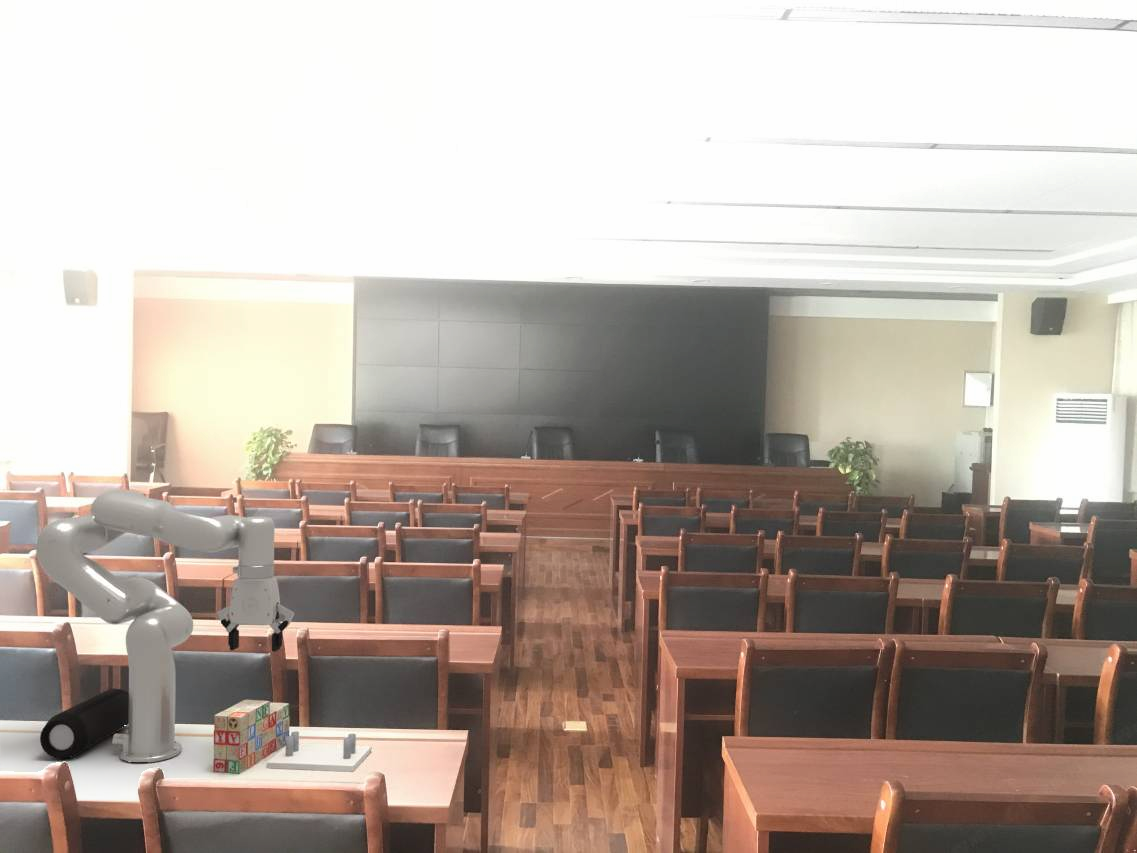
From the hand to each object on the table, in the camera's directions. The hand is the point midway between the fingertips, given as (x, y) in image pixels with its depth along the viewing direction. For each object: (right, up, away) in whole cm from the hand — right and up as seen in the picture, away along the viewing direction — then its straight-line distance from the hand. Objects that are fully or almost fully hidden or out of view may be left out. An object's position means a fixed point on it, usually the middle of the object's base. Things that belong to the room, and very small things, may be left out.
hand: (255, 649), depth 205 cm
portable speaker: (-41, -24, +8) cm, 48 cm away
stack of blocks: (0, -24, 0) cm, 24 cm away
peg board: (+15, -24, -2) cm, 28 cm away
